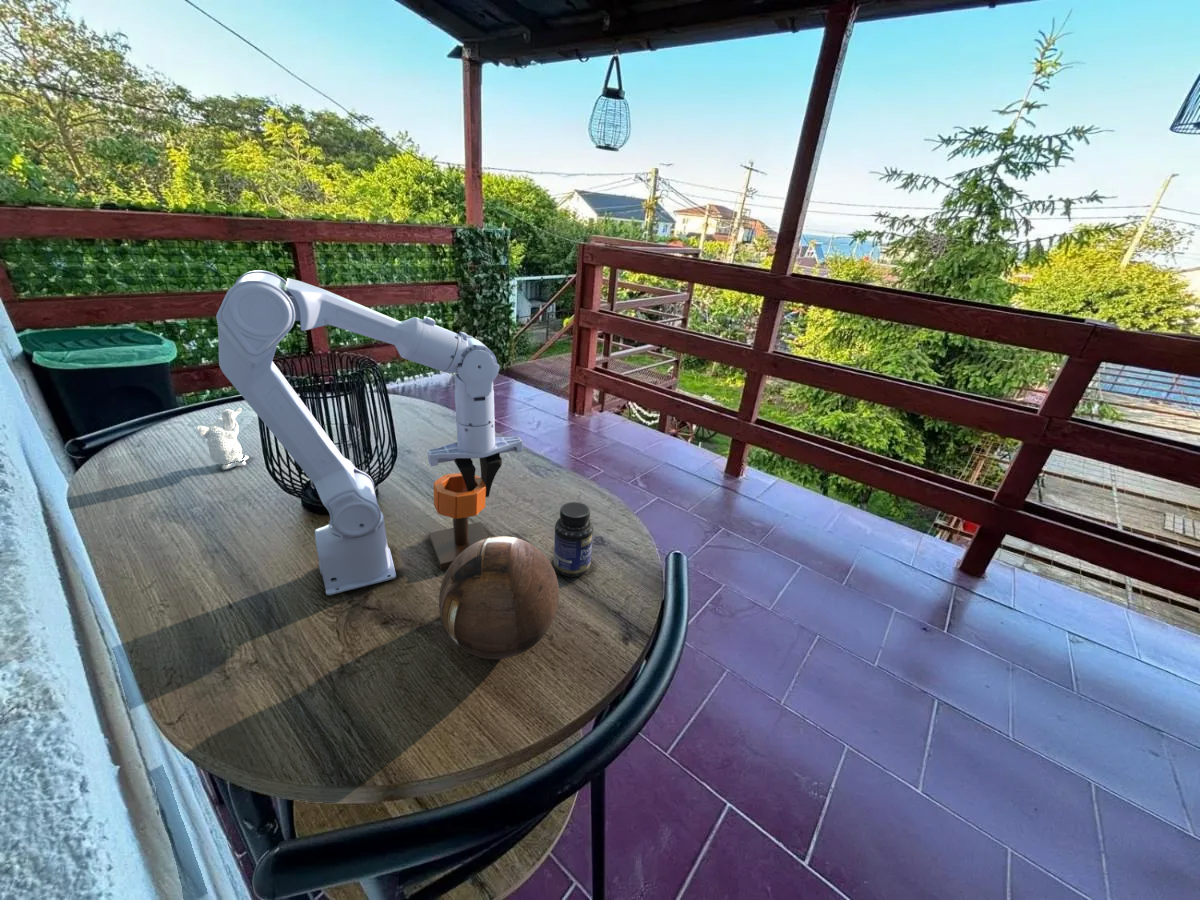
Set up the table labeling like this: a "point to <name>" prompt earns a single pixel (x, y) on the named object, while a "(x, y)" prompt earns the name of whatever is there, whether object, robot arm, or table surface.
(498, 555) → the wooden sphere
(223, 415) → the white sheep figurine
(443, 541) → the peg stand
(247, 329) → the robot arm
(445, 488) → the ring
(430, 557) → the table surface
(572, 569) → the pill bottle
